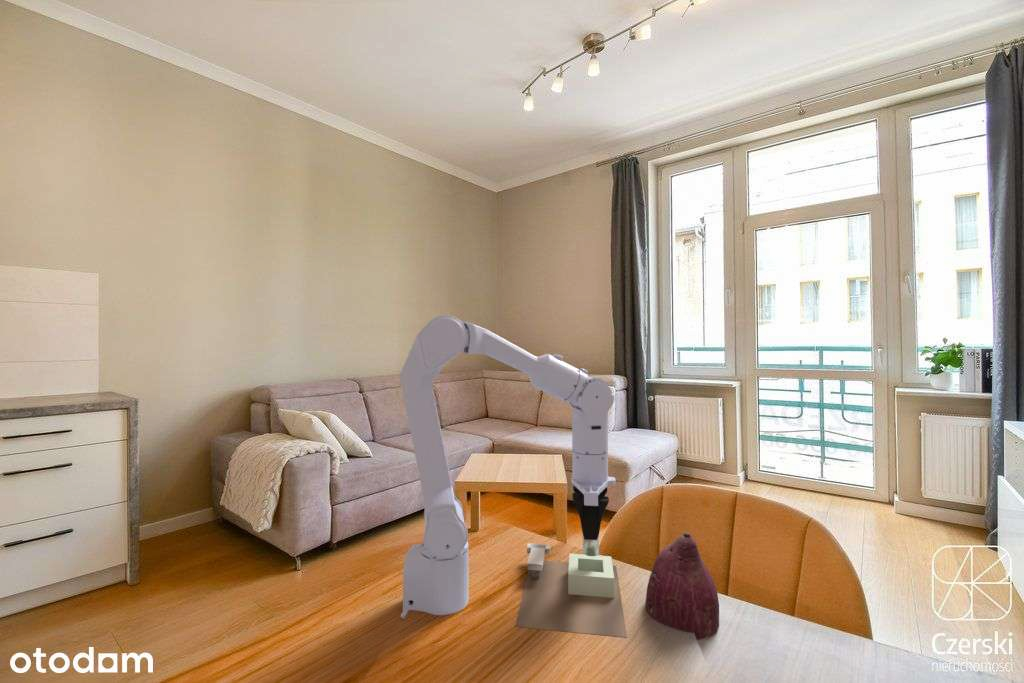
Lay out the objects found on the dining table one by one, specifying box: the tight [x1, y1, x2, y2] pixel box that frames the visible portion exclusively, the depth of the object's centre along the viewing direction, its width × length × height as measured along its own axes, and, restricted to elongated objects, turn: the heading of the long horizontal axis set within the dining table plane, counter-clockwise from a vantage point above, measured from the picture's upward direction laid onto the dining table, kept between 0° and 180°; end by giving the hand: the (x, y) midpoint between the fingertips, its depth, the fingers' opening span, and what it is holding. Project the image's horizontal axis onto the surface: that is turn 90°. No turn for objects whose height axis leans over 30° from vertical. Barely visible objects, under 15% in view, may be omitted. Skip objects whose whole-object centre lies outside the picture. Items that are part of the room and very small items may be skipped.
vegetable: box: [645, 531, 720, 641], centre depth 63 cm, size 10×10×15 cm
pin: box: [582, 532, 600, 556], centre depth 71 cm, size 3×3×7 cm
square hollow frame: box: [568, 553, 614, 598], centre depth 71 cm, size 7×7×3 cm
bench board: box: [514, 542, 628, 639], centre depth 69 cm, size 16×19×4 cm
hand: (590, 534), depth 71 cm, fingers closed on pin, 3 cm apart
